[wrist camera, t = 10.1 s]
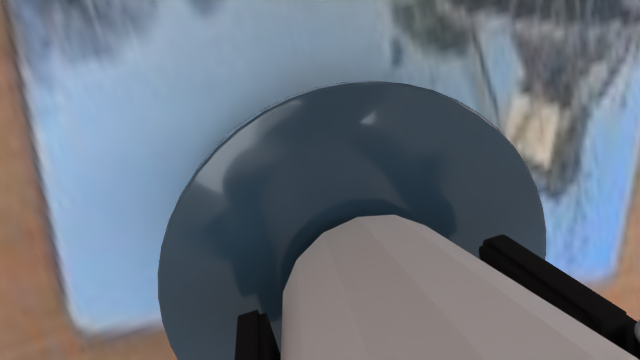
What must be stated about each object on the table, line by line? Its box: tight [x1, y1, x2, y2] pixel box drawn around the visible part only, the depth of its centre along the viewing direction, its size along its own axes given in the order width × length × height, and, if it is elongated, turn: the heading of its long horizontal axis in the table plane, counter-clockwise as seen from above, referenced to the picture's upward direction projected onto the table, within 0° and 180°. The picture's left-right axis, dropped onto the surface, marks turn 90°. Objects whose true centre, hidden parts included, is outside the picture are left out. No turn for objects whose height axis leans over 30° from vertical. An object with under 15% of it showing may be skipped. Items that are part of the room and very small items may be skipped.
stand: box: [158, 81, 546, 360], centre depth 16 cm, size 13×13×6 cm
